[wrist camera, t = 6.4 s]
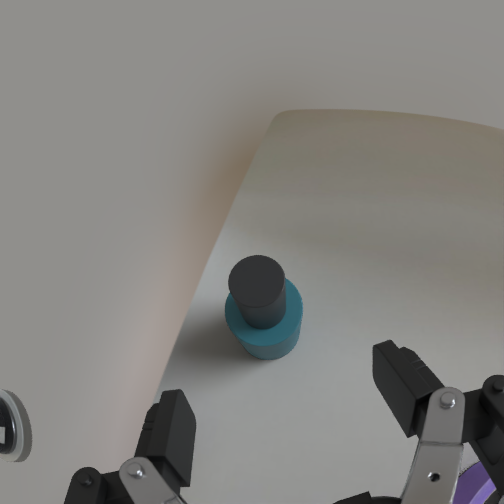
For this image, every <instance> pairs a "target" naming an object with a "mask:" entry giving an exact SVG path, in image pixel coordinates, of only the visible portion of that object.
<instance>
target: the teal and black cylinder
mask: <svg viewBox="0 0 504 504" xmlns="http://www.w3.org/2000/svg"><path fill="white" fill-rule="evenodd" d="M228 285H229V290H230V293H229V295H228V297H227V300H226V304H225V317H226V321H227V324H228V326H229V328H230V329H231V331H232V332H233V334H234V335H235V336H236V337H237V339H238V340H239V341H240V343H241V344H242V345H243V346H244V348H245V349H246V350H247V351H248V352H249V353H250V354H251V355H253V356H255V357H257V358H260V359H264V360H274V359H278V358H281V357H283V356H285V355H286V354H288V353H289V352H290V351H291V350H292V349H293V348H294V346H295V345H296V343H297V341H298V338H299V333H300V327H301V321H302V314H303V303H302V298H301V296H300V293H299V292H298V290H297V288H296V287H295V286H294V285H293V284H292V283H291V282H290V281H289V280H288V279H286V278H285V274H284V271H283V269H282V267H281V266H280V265H279V264H278V263H277V262H276V261H275V260H273V259H272V258H269V257H267V256H262V255H254V256H249V257H246V258H244V259H242V260H241V261H239V262H238V263H237V264H236V265H235V266H234V267H233V269H232V271H231V273H230V275H229V280H228Z"/></svg>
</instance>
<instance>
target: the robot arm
mask: <svg viewBox="0 0 504 504" xmlns="http://www.w3.org/2000/svg"><path fill="white" fill-rule="evenodd" d="M373 378H374V382H375V384H376V386H377V388H378V390H379V391H380V393H381V394H382V396H383V398H384V399H385V401H386V403H387V404H388V406H389V408H390V409H391V411H392V413H393V414H394V416H395V418H396V419H397V421H398V423H399V424H400V426H401V428H402V429H403V431H404V433H405V435H406V436H407V438H409V437H411V436H413V435H417V436H418V438H419V441H418V445H417V448H416V452H415V455H414V459H413V462H412V465H411V469H410V472H409V475H408V478H407V481H406V483H405V486H404V489H403V491H402V494H401V496H400V498H397V497H389V496H378V497H371V495H370V493H369V491H368V492H365V493H362V494H359V495H356V496H353V497H350V498H346V499H343V500H340V501H337V502H335V503H333V504H452V503H453V499H454V495H455V491H456V486H457V482H458V477H459V472H460V467H461V461H462V455H463V444H462V443H466V442H469V443H470V445H471V447H472V448H473V450H474V451H475V453H476V455H477V456H478V458H479V460H480V461H481V463H482V465H483V466H484V468H485V470H486V471H487V473H488V475H489V477H490V478H491V480H492V482H493V484H494V485H495V487H496V489H497V491H498V493H499V495H500V496H501V499H500V501H499V503H498V504H504V376H503V375H493V376H491V377H489V378H487V379H486V380H485V382H484V384H483V387H482V388H481V389H478V390H474V391H470V392H465V393H462V392H461V391H460V390H458V389H456V388H453V387H445V386H444V385H443V384H442V383H441V381H440V380H439V379H438V378H437V377H436V376H435V375H434V373H433V372H432V371H431V370H430V369H429V368H428V367H427V366H426V364H425V363H424V362H423V361H422V360H421V359H420V358H419V357H418V355H417V354H416V353H415V352H414V351H412V350H410V349H408V348H406V347H402V348H400V349H399V348H398V347H397V346H396V345H395V344H394V343H393V341H392V340H387V341H385V342H382V343H379V344H376V345H374V346H373ZM144 422H145V423H144V424H143V428H142V429H143V430H142V431H141V434H140V438H139V441H138V445H137V448H136V452H135V456H134V458H131V459H129V460H127V461H126V462H124V463H123V465H122V466H121V468H120V470H119V471H115V472H111V473H105V474H100V473H99V472H98V471H97V470H96V469H95V468H92V467H84V468H82V469H79V470H78V471H77V472H76V473H75V474H74V475H73V477H72V479H71V483H70V486H69V489H68V492H67V495H66V498H65V502H64V504H188V503H187V502H186V501H185V500H184V499H183V498H182V496H181V495H180V487H190V480H191V470H192V460H193V451H194V441H195V432H196V419H195V415H194V413H193V411H192V409H191V407H190V405H189V403H188V401H187V399H186V397H185V395H184V393H183V391H182V390H181V389H177V390H169V391H163V392H162V395H161V399H160V402H159V403H155V404H153V406H152V407H151V408H150V409H149V410H148V412H147V414H146V418H145V421H144ZM16 444H17V427H16V422H15V418H14V415H13V412H12V410H11V408H10V406H9V405H8V403H7V402H6V401H5V400H4V399H3V398H2V397H0V453H1V454H11V453H12V452H13V451H14V449H15V447H16Z"/></svg>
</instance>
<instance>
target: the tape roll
mask: <svg viewBox="0 0 504 504" xmlns="http://www.w3.org/2000/svg"><path fill="white" fill-rule="evenodd" d="M495 490H496V487H495V485H494V484H493V482H492V480H491V478H490V477H489V475H488V473H487V471H486V470H485V468H484V466H483V465H482V463H481V461H480V462H478V463H476V464H475V465H473V466H472V467H471V468H469V469H468V470H467V471H466V472H464V473H463V474H462V475H461V476H460V477H459V478H458V482H457V486H456V491H455V495H454V499H453V503H452V504H484V503H485V501H486V500H487V499H488V498H489V496H490V495H491V494H492V493H493V492H494V491H495Z"/></svg>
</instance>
